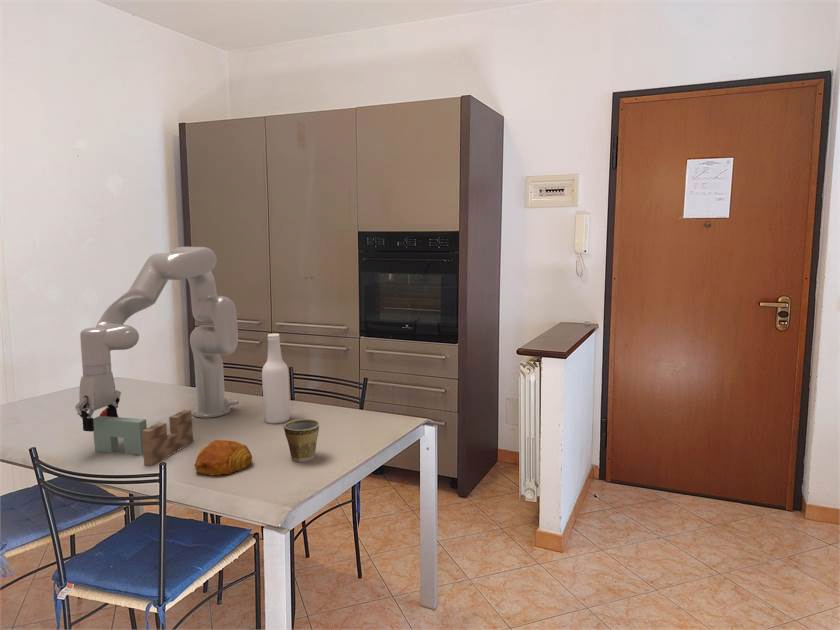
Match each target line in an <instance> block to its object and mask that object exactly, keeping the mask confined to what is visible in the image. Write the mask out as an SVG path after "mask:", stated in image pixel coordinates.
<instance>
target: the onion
mask: <svg viewBox="0 0 840 630" xmlns="http://www.w3.org/2000/svg"><path fill="white" fill-rule="evenodd" d="M107 408H108V407H107V406H106V407H105V409H103V410H102V411H101V412H100V414H99V415H98V416H107ZM117 417H119V415H118V413H117Z"/></svg>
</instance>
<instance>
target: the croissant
mask: <svg viewBox="0 0 840 630" xmlns="http://www.w3.org/2000/svg"><path fill="white" fill-rule="evenodd" d="M248 447H249V446H247V445H246V444H243V443H240V442H237V441H235V440H225V439H224V440H223V439H222V440H221V439H217V440H213V441H211V442H210V443H208V444H207V445H206V446H205V447H203V448H201V449H200V450H199V452H198V454H197V456H196V460H195V463H194V466H193V467H194V470H195V471H196V472H197V471H198V473H199V474H202V473H203V475H207V474H209V475H208V476H211V475H210V474H213V475H212V476H214V475H216V476H222V475H221V474H230V475H231V473H232V474H234V473H233V472H235V473H236V471H235V470H240V469H241V470H242V469H243V470H244V469H245V468H247V467H248V466H249V465H250V464H251V463H252V461H253V460H252V459H253V456H252V453H251V451H250V449H249V448H248ZM241 470H240V471H241Z"/></svg>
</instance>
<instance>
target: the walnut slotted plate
mask: <svg viewBox="0 0 840 630" xmlns="http://www.w3.org/2000/svg"><path fill="white" fill-rule="evenodd" d="M168 421H169V432H170V433H168V429H167V428H168V427H167V423H166V422H157V423H155V424H153V425H150V426H149V427H147V429H145V430H143V431H142V441H143V464H144V466H148V467H149V466H151V467H152V466H154V465H156V464H158V463H160V462H161V461H163V460H164V459H166V458H168V457H169V456H168V455H170V454H171V455H173V454H174V453H173V452H175V451H176V452H178V451H179V450H178V449H180V448H181V449H183V448H184V446H185V445H186V446H188V445H189V443H190V444H192V443H193V442H194V431H193V429H194V428H193V411H192V410H191V409H190V410H189V409H183V410H181V411H179V412H177V413H175V414H173V415H171V416H169V420H168ZM192 441H193V442H192ZM187 444H188V445H187ZM186 446H185V447H186ZM182 447H183V448H182ZM181 449H180V450H181ZM177 450H178V451H177ZM176 452H175V453H176ZM172 453H173V454H172ZM171 455H170V456H171ZM167 456H168V457H167ZM165 457H166V458H165ZM163 458H164V459H163ZM162 459H163V460H162ZM157 462H158V463H157Z"/></svg>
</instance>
